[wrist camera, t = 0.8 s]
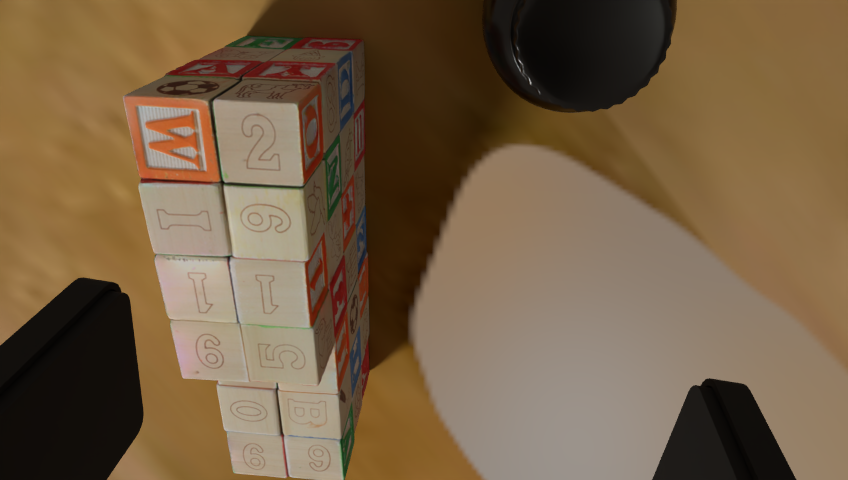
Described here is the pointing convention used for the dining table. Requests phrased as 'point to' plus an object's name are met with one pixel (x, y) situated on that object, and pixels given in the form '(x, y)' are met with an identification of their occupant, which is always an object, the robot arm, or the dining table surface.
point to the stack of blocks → (264, 241)
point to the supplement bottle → (577, 48)
